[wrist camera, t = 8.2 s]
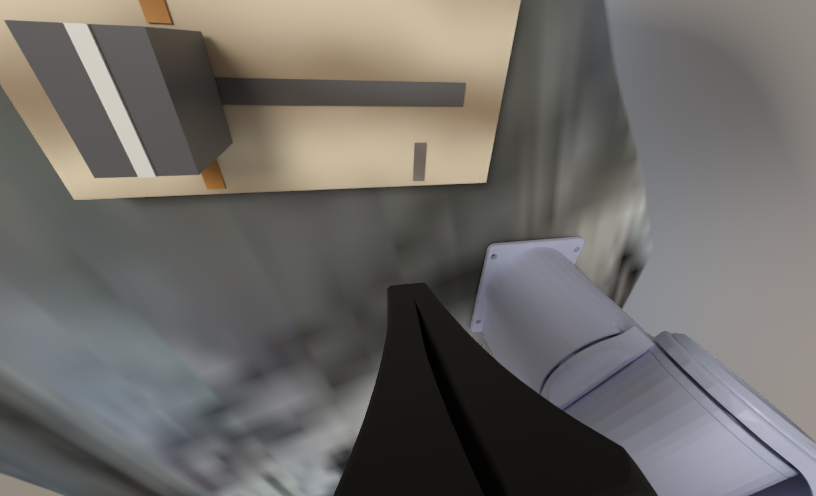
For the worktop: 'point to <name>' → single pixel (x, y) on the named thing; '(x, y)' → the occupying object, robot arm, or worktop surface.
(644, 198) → the worktop surface
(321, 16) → the fader console
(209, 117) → the fader knob
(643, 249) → the worktop surface
